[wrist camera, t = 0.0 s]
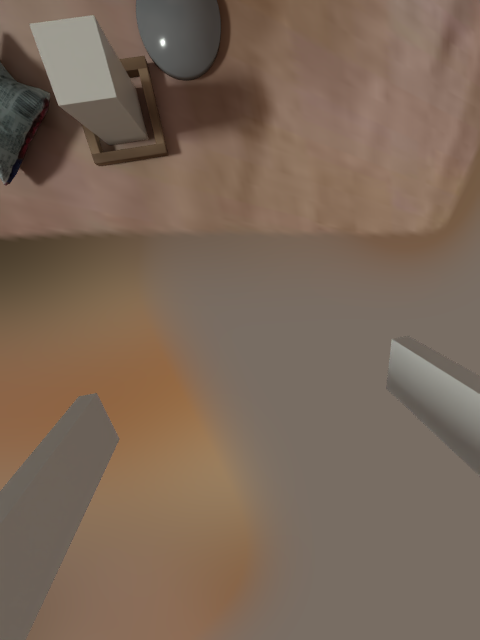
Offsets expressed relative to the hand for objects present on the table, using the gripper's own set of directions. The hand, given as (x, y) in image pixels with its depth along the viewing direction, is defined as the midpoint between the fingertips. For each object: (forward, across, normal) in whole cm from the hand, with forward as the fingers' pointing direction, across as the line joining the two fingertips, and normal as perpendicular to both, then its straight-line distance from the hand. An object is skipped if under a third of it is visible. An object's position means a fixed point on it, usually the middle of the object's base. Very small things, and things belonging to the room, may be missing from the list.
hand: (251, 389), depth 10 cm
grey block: (+28, -9, +21) cm, 36 cm away
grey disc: (+28, 0, +28) cm, 40 cm away
